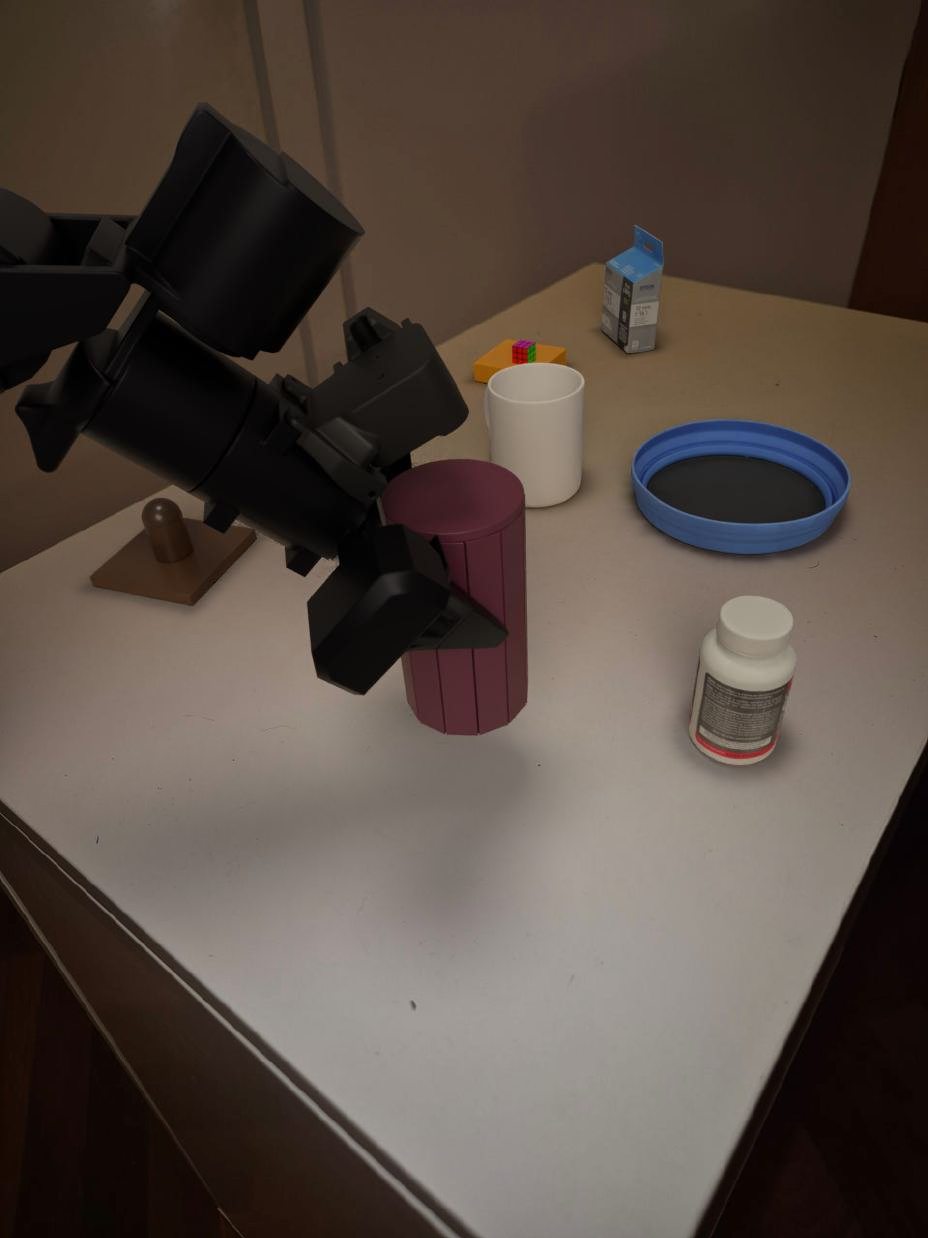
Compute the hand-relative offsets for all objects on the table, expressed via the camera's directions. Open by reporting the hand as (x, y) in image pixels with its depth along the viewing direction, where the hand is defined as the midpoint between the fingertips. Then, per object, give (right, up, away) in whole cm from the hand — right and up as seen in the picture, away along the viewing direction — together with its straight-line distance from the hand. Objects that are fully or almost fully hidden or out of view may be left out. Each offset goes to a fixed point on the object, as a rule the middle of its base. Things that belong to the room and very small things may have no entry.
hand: (486, 595), depth 43 cm
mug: (+5, +12, +36) cm, 38 cm away
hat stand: (-26, +4, +29) cm, 39 cm away
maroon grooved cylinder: (-1, -5, +4) cm, 7 cm away
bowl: (+23, +9, +30) cm, 39 cm away
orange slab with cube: (+6, +27, +55) cm, 61 cm away
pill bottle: (+16, -9, +9) cm, 20 cm away
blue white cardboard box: (+19, +33, +60) cm, 72 cm away
